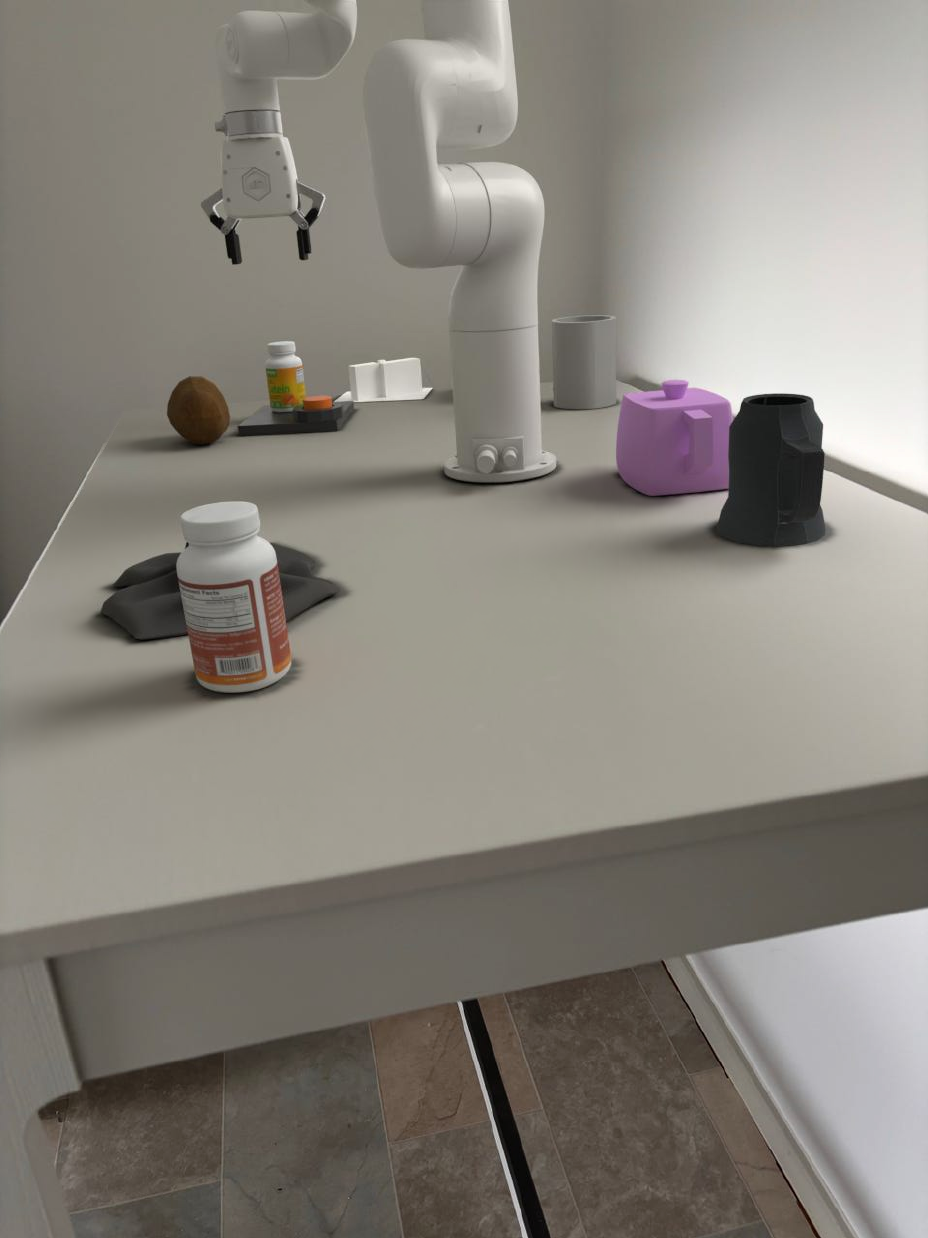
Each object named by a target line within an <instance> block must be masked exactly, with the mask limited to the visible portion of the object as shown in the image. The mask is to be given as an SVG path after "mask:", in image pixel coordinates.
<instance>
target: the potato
mask: <svg viewBox="0 0 928 1238" xmlns="http://www.w3.org/2000/svg"><path fill="white" fill-rule="evenodd" d="M229 409H230V408H229V406H228V403H227V401H226V398H225V396H224V394H223V393H222V392H221V391H220V389H219V388H218V387H217V385H216V384H215V383H214V382H213V381H211V380H209V379H207V378H205V377H204V376H199V375H198V376H196V375H195V376H194V375H193V376H192V375H190V376H188V377H185V378H183V379H181V380H180V381H178V383H177V384H176V385H175V387H174V388H173V390H172V391H171V393H170V396H169V399H168V401H167V407H166V411H167V412H166V417H167V419H168V421H169V424H170V425H171V426H172V428H173V429H174V430H175V432H177V433H178V435H179V436H180V437H181V438H183V439H184V440H186V441H188V442H189V443H190V444H196V445H208V444H212V443H214V442H215V441H218V440H219V439H220V438H221V437H223V435H224V434H225V433H226V432H227V430H228V428H229V426H230V422H231V421H230V420H231V415H230V410H229Z"/></svg>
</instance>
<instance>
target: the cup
mask: <svg viewBox="0 0 928 1238" xmlns="http://www.w3.org/2000/svg"><path fill="white" fill-rule="evenodd" d="M550 323H551V348H552V349H551V354H552V355H551V356H552V357H551V358H552V382H553V383H552V387H553V388H552V389H553V406H554V407H555V408H558V409H564V410H595V409H601V408H607V407H611V406H614V405H616V404H617V317H616V316H614V315H605V314H604V315H603V314H601V315H599V314H595V315H593V314H592V315H576V316H574V315H573V316H566V317H559V318H553V319H551V321H550Z"/></svg>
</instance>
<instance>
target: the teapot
mask: <svg viewBox="0 0 928 1238" xmlns="http://www.w3.org/2000/svg"><path fill="white" fill-rule="evenodd" d="M661 387H662V389H661V390H660V389H659V390H648V391H638V392H629V393H624V395H622V399H621V402H620V403H621V404H620V411H619V416H618V423H617V432H616V442H615V443H616V444H615V445H616V446H615V461H616V462H615V463H616V467H617V471H618V474H619V476H620V477H621V479H622V480H623V481H624V482H625V483H626V484H627V485H628V486H630V487H631V488H632V489H634V490H636V491H638V492H639V493H641V494H644V495H646V496H650V497H656V496H667V495H668V496H669V495H670V496H671V495H680V494H691V493H692V494H693V493H700V492H701V493H702V492H710V491H711V492H712V491H720V490H727V489H728V490H729V460H728V449H729V426H730V424H731V423H732V421H733V420H734V416H733V409H732V404H731V402H730V401H729V400H728V398H725V397H724V396H721V395H719V394H718V393H715V392H712V391H709V390H707V389H703V388H699V387H689V381H687V380H685V379H669V380H664V381H662V382H661Z"/></svg>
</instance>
